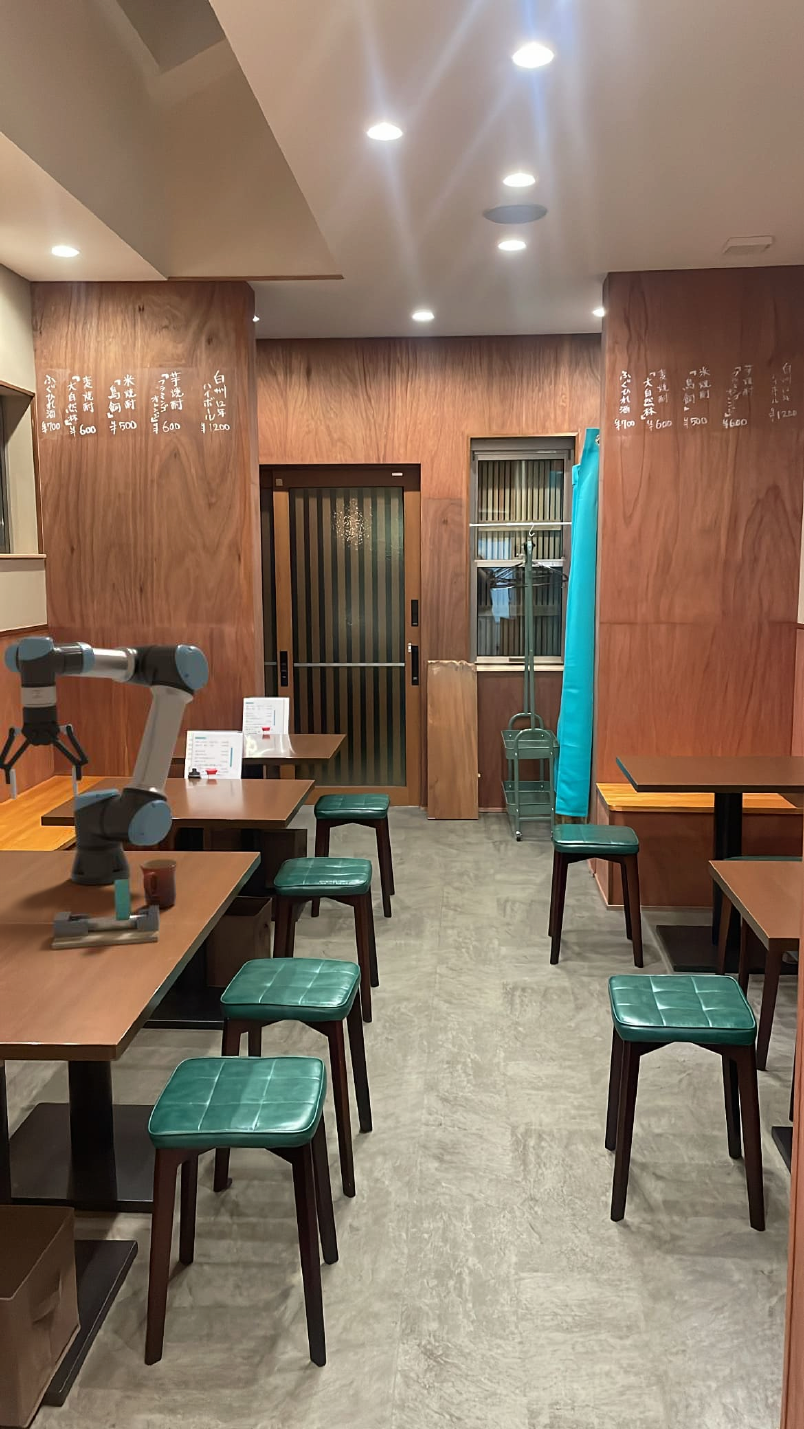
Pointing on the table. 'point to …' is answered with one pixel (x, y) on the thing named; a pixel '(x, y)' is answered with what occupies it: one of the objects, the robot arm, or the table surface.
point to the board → (106, 938)
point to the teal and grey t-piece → (117, 911)
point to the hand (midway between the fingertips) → (45, 796)
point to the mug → (159, 882)
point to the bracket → (70, 925)
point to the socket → (148, 919)
